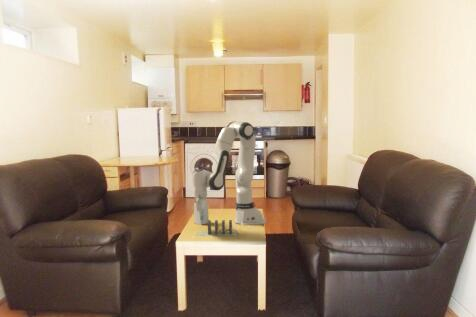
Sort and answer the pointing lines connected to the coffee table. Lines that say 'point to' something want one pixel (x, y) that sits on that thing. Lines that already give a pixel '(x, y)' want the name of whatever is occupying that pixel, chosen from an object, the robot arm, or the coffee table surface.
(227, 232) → the runner mat
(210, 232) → the domino
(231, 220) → the domino
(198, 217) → the milk carton
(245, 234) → the coffee table surface
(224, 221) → the domino
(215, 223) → the domino
